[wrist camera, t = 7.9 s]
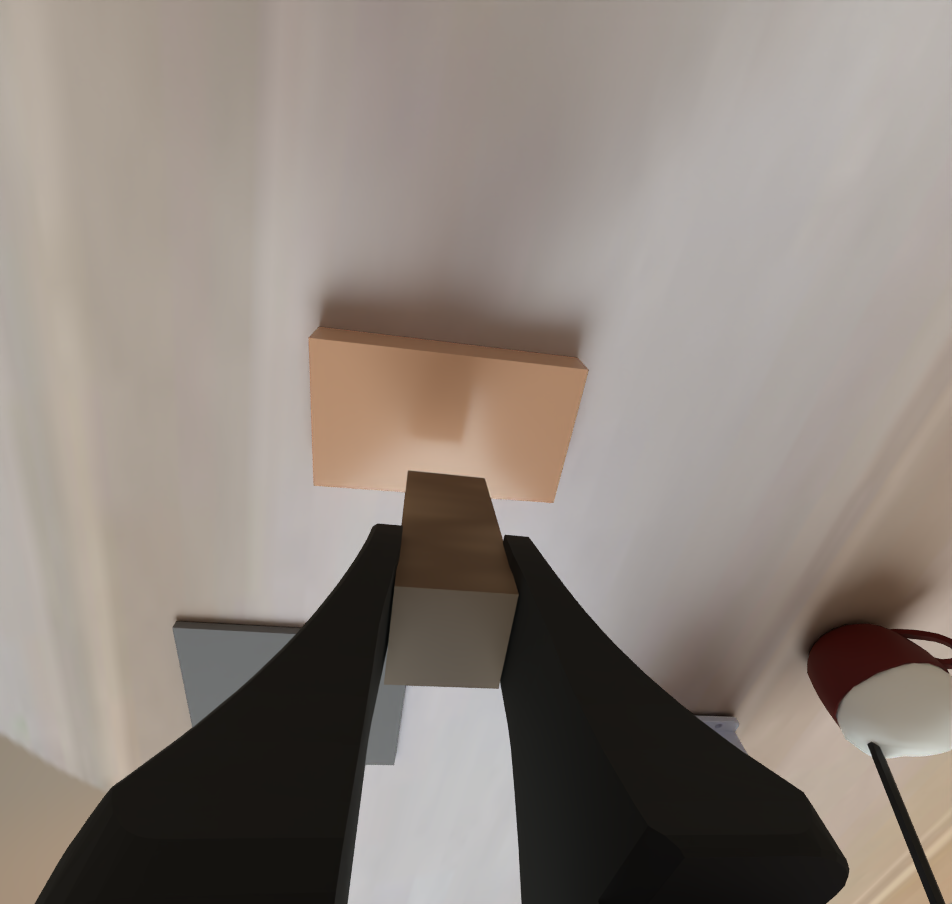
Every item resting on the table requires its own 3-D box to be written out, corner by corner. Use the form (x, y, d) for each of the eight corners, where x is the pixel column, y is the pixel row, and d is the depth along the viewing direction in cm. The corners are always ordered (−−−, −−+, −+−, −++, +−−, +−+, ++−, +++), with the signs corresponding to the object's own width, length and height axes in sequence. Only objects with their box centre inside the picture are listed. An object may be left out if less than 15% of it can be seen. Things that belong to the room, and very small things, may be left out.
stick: (484, 478, 15) (518, 594, 9) (473, 544, 16) (498, 688, 10) (407, 470, 14) (394, 586, 9) (400, 538, 15) (383, 684, 10)
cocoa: (912, 590, 27) (1242, 828, 16) (895, 660, 30) (1167, 903, 19) (756, 632, 27) (979, 897, 16) (754, 698, 30) (943, 961, 19)
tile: (543, 478, 21) (574, 354, 19) (553, 502, 20) (588, 369, 17) (324, 461, 20) (321, 324, 17) (313, 485, 18) (308, 337, 15)
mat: (412, 634, 25) (412, 640, 24) (394, 758, 30) (393, 765, 30) (176, 621, 23) (172, 627, 23) (202, 755, 29) (199, 762, 28)
